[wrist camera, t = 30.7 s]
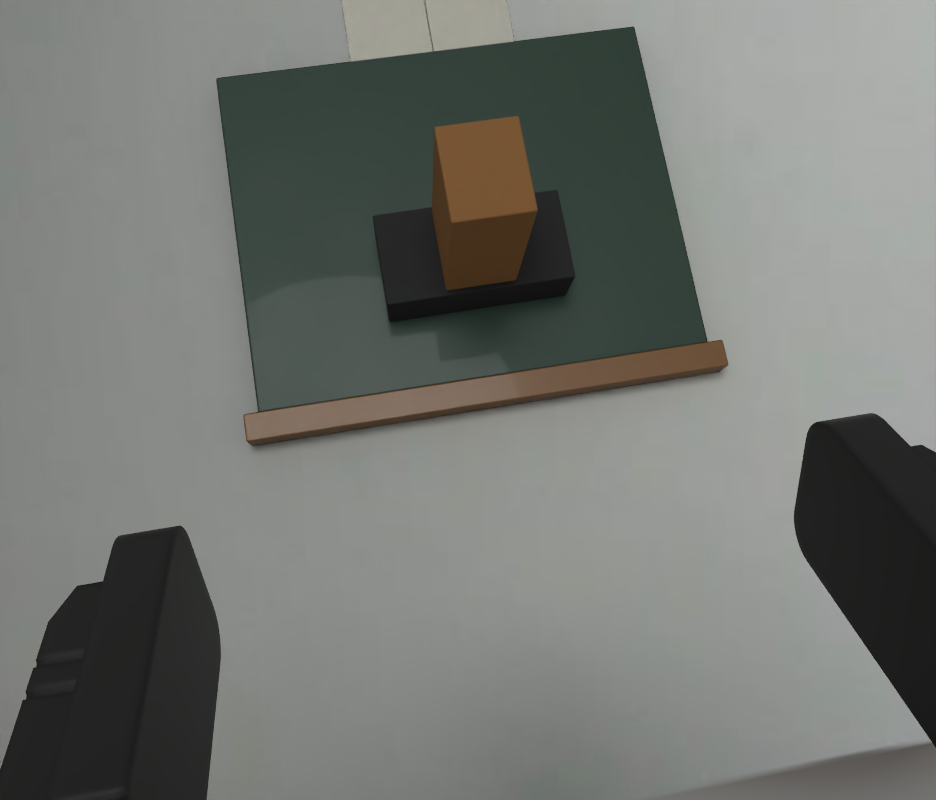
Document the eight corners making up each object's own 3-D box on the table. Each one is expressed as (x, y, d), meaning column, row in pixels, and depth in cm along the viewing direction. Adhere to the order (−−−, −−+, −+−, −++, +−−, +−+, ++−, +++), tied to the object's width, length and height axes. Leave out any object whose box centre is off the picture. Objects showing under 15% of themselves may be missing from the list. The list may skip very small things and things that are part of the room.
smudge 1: (352, 75, 42) (351, 70, 42) (341, 2, 43) (340, -3, 43) (434, 65, 42) (434, 60, 42) (422, -7, 43) (421, -12, 43)
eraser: (389, 322, 38) (378, 239, 29) (375, 237, 39) (360, 130, 30) (566, 295, 39) (611, 205, 30) (549, 212, 40) (588, 100, 30)
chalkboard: (251, 446, 38) (246, 441, 37) (207, 91, 41) (201, 76, 40) (720, 371, 40) (729, 365, 38) (641, 36, 43) (647, 21, 42)
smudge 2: (434, 60, 42) (434, 55, 42) (421, -11, 43) (421, -17, 43) (514, 51, 43) (515, 46, 42) (501, -20, 44) (501, -26, 43)
